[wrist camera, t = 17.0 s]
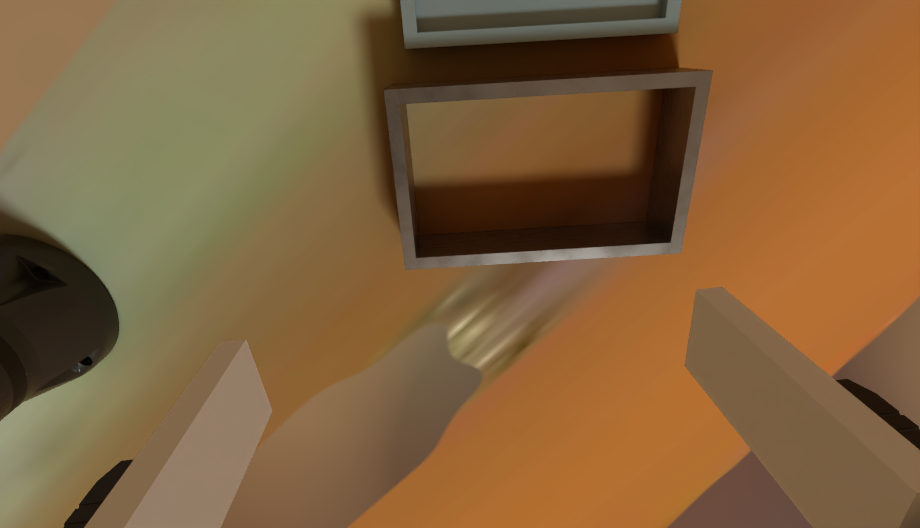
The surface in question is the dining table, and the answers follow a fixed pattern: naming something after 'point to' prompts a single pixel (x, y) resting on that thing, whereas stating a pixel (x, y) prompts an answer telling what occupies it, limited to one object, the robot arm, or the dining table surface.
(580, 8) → the tray
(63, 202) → the dining table surface
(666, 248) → the metal holder
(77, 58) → the dining table surface
